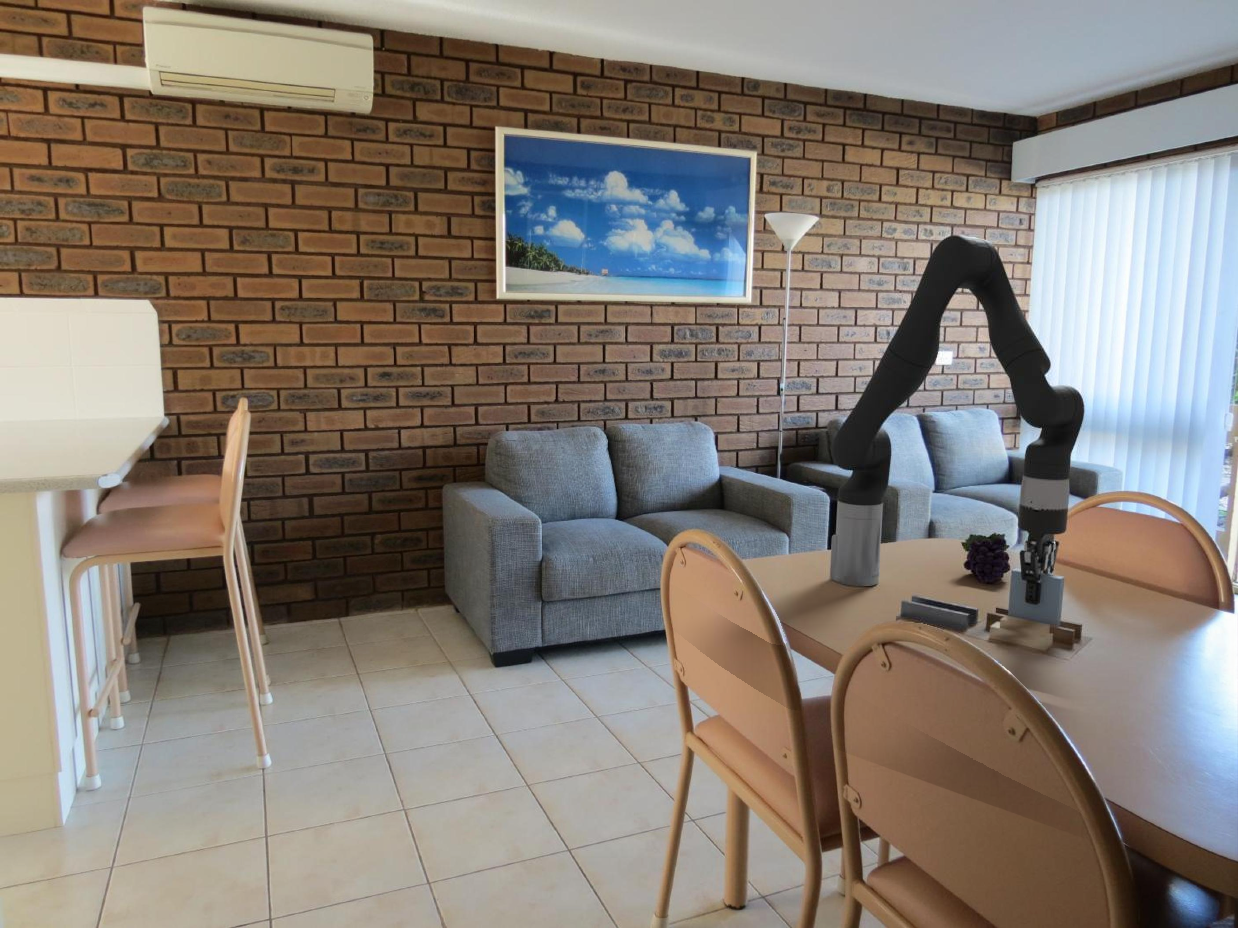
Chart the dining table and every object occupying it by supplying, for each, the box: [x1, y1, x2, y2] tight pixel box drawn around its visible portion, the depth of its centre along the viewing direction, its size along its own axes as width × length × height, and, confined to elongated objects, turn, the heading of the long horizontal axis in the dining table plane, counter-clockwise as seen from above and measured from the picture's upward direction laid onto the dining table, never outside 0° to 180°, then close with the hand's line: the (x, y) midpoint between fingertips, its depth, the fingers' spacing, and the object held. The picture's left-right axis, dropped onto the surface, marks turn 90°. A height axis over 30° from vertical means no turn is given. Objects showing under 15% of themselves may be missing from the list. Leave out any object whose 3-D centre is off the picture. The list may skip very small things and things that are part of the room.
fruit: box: [960, 532, 1011, 584], centre depth 189 cm, size 10×11×15 cm
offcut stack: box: [989, 615, 1053, 651], centre depth 147 cm, size 9×4×4 cm, turn 48°
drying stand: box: [895, 594, 981, 633], centre depth 159 cm, size 12×9×4 cm
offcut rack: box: [961, 605, 1094, 661], centre depth 149 cm, size 17×14×4 cm
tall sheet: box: [1008, 567, 1065, 627], centre depth 151 cm, size 8×2×10 cm, turn 48°
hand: (1035, 600), depth 151 cm, fingers open, 3 cm apart
